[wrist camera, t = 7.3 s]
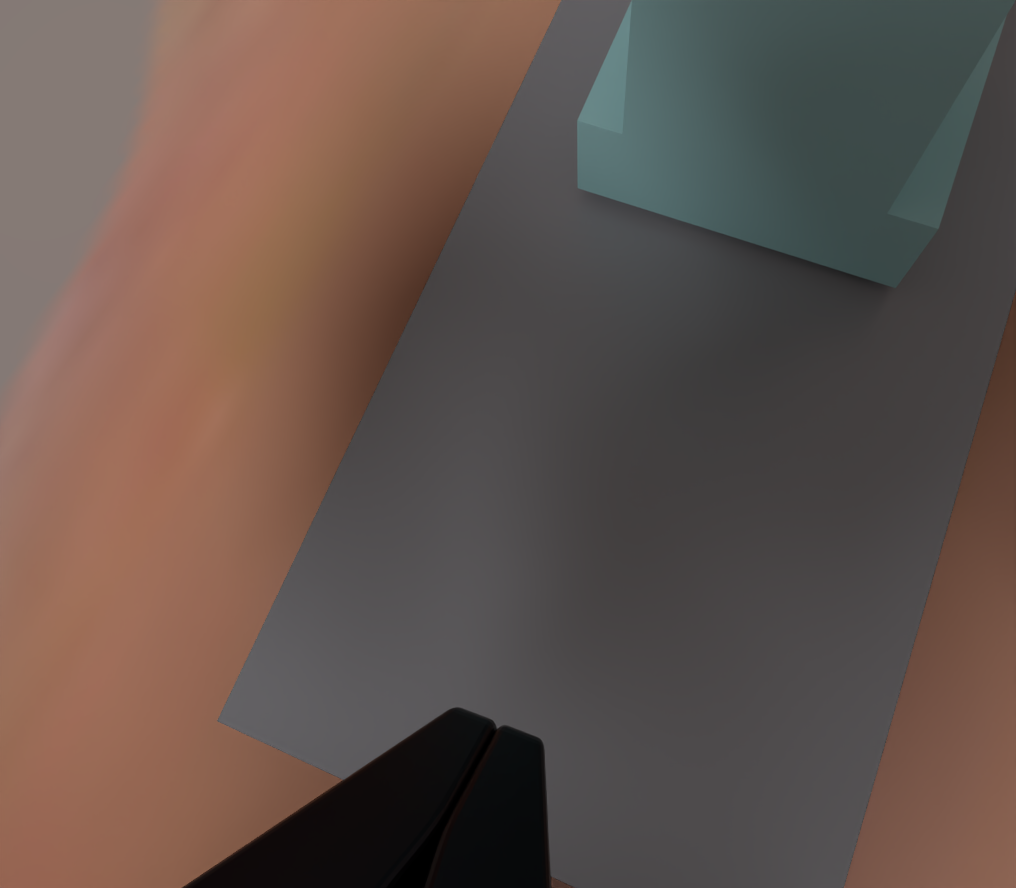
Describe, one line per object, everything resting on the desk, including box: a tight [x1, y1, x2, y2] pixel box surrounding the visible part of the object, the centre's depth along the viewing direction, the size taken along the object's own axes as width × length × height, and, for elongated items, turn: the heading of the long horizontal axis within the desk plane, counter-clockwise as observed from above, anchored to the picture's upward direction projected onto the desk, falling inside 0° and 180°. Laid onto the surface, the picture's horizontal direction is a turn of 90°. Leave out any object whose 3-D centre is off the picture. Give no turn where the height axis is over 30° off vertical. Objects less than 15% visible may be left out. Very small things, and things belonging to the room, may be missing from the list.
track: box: [217, 0, 1016, 888], centre depth 13 cm, size 23×10×10 cm, turn 157°
